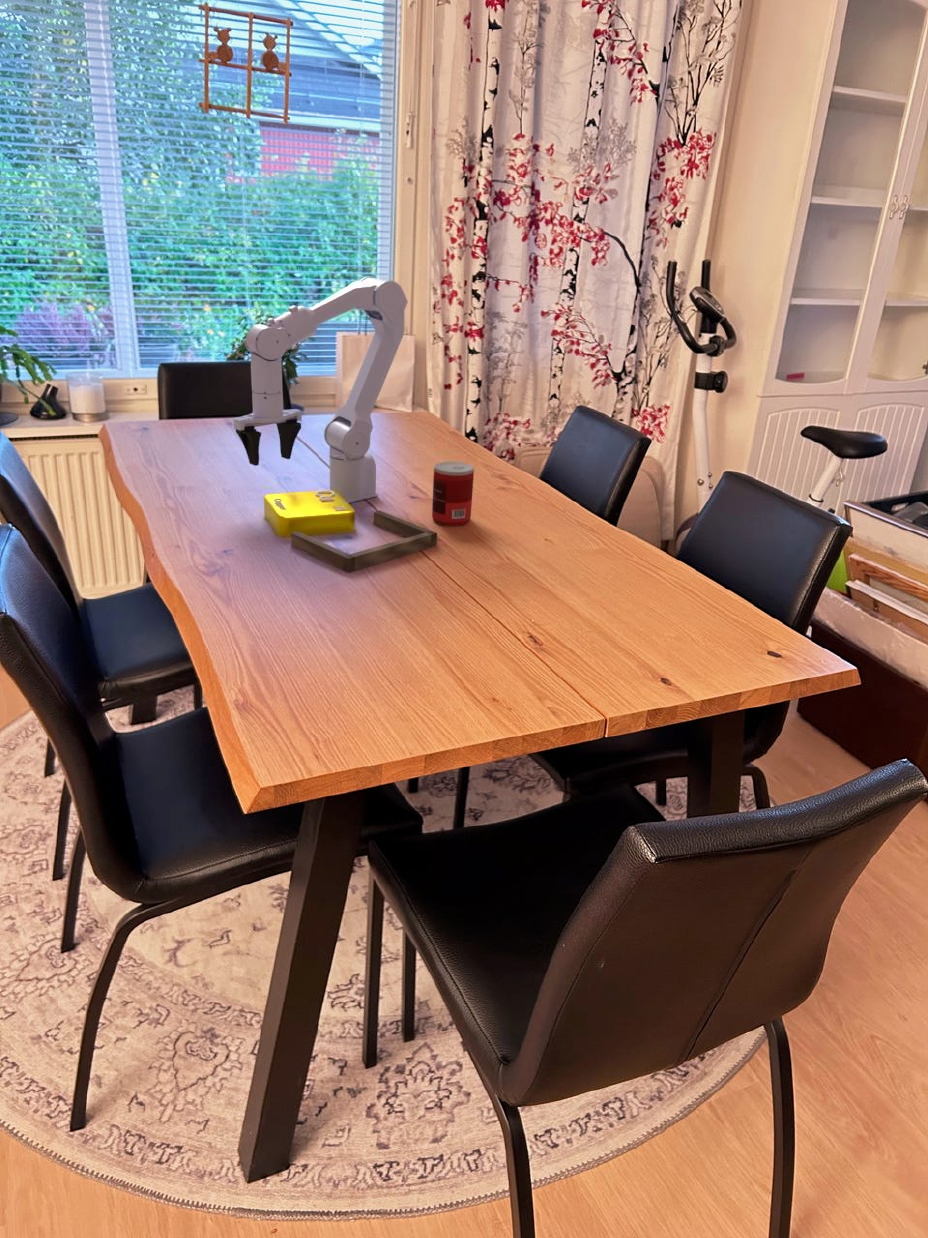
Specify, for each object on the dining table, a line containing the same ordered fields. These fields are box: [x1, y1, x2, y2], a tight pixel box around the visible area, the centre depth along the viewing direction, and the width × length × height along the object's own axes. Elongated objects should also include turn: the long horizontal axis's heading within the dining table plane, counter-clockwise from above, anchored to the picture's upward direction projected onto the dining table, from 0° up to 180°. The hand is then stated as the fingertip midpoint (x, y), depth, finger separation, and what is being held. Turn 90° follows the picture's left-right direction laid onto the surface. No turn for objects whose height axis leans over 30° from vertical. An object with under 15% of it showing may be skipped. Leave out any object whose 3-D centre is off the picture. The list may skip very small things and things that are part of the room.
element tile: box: [263, 489, 356, 539], centre depth 172 cm, size 15×15×5 cm
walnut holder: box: [290, 510, 438, 573], centre depth 163 cm, size 21×16×2 cm
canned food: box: [431, 461, 475, 527], centre depth 176 cm, size 8×8×11 cm
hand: (270, 461), depth 176 cm, fingers open, 7 cm apart
